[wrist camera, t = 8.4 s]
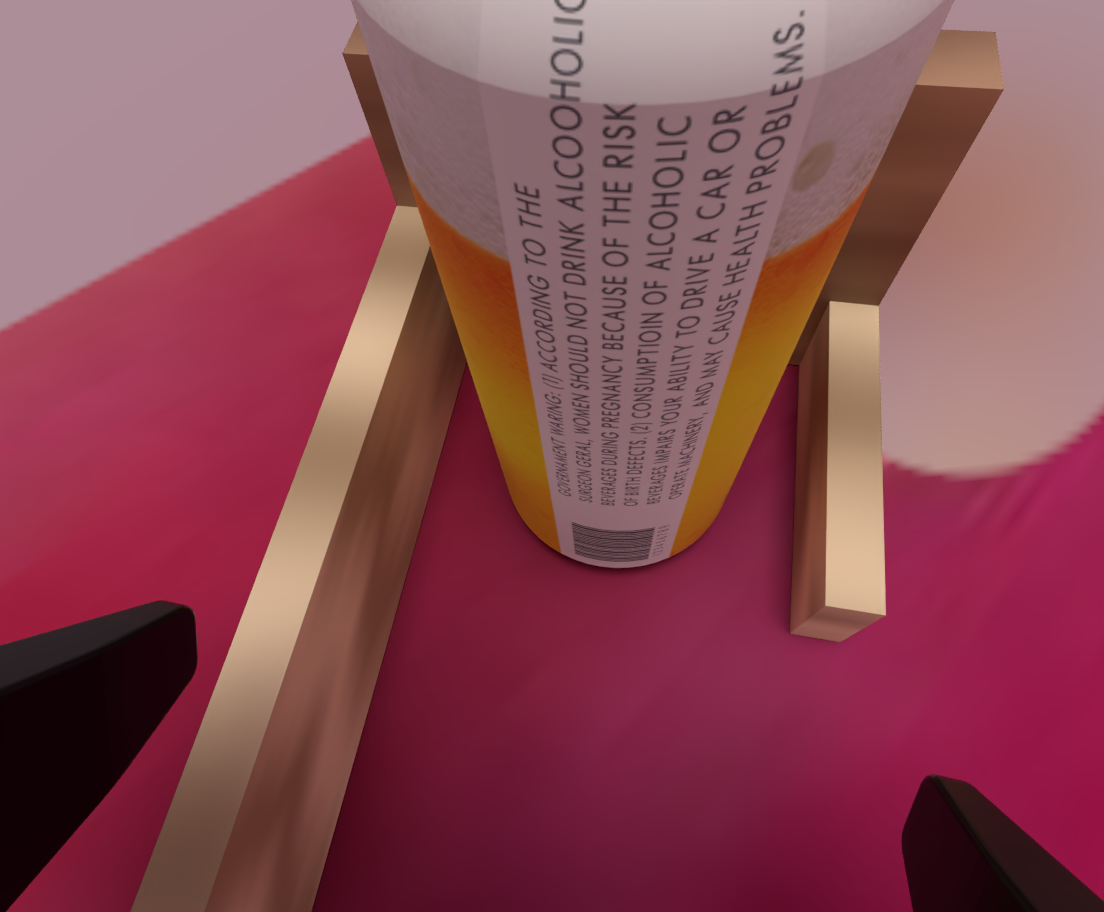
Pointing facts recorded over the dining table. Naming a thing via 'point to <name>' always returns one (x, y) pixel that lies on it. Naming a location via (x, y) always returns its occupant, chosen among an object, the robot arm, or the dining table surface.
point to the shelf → (406, 479)
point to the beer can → (637, 225)
